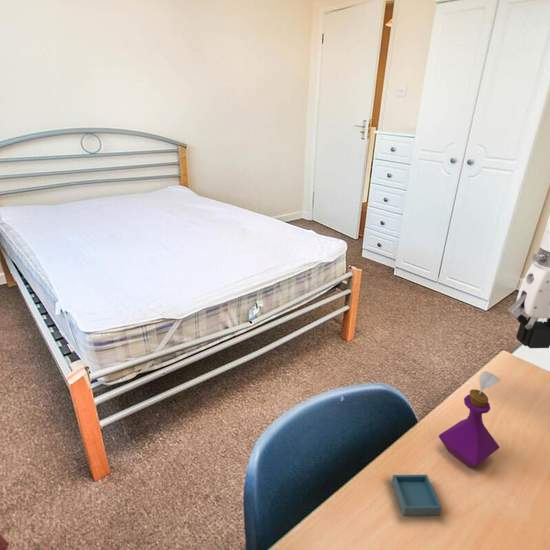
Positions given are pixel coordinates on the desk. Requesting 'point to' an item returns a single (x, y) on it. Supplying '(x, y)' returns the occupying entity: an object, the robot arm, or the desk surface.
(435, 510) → the shallow rectangular tray
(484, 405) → the perfume bottle
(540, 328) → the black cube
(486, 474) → the desk surface
